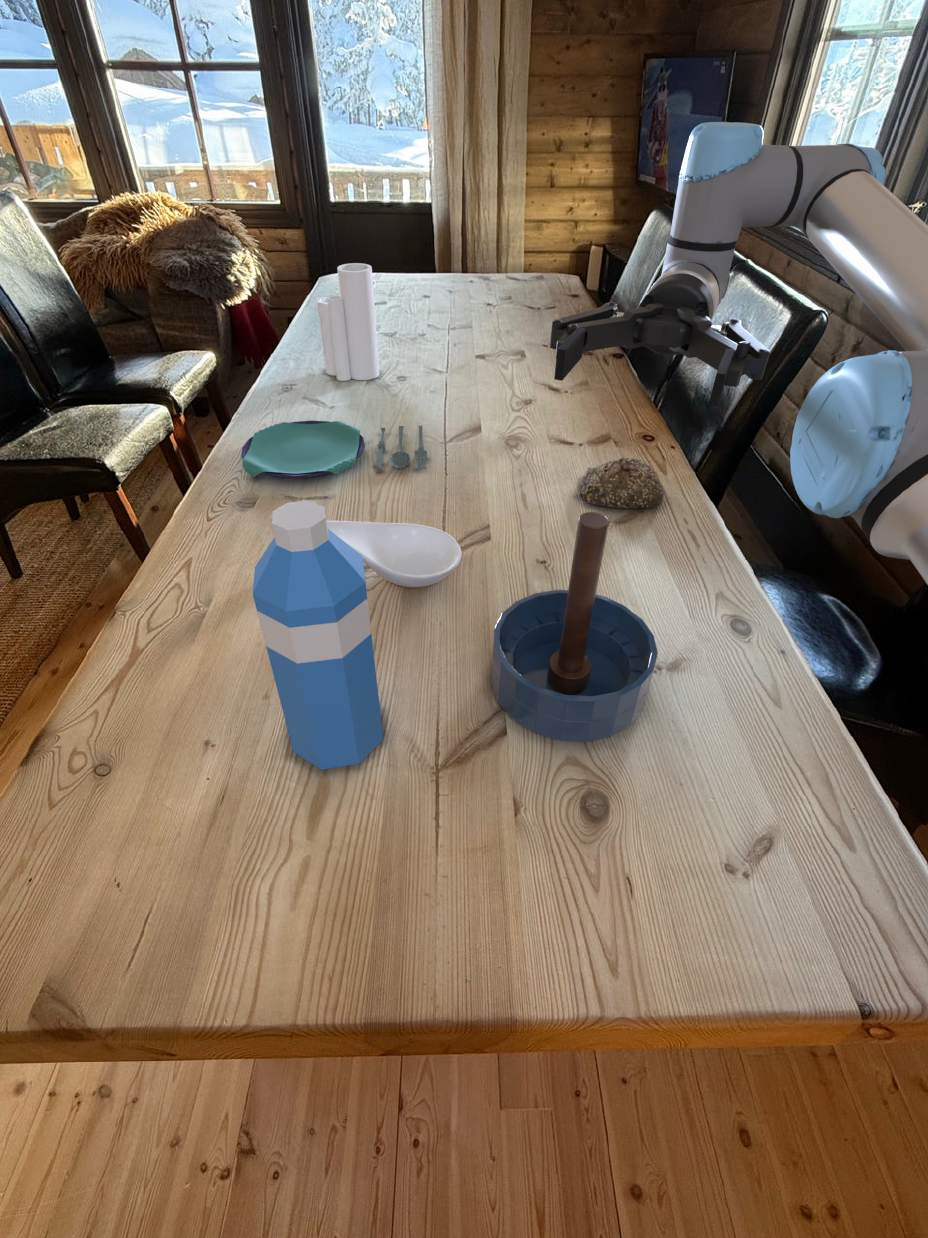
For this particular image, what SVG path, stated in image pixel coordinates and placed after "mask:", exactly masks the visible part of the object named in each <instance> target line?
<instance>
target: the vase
mask: <svg viewBox="0 0 928 1238" xmlns="http://www.w3.org/2000/svg"><path fill="white" fill-rule="evenodd" d="M336 268H337V278H338V289H339V295H334V294H333V295H329V296H327V297H320V298H317V300H316V303H317V304H316V305H317V311H318V319H319V320H318V321H319V327H320V334H321V335H320V336H321V343H322V351H323V359H324V367H325V373H326V374H327V375H329V376H333V377H334V376H335V377H336V380H337V381H340V382H347V381H350V380H351V379H352V380H356V381H369V380H370V381H371V380H375V379H376V378H378V377H379V376H380V361H379V346H378V335H377V334H378V333H377V321H376V305H375V294H374V280H373V267H372V265H370V264H367V263H361V262H359V263H358V262H354V263H353V262H351V263H344V264H341V265H338V266H337V267H336Z"/></svg>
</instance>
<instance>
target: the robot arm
mask: <svg viewBox="0 0 928 1238" xmlns="http://www.w3.org/2000/svg"><path fill="white" fill-rule="evenodd" d="M764 134H765V133H764V129H763V126H761V125H760V124H756V123H750V122H735V121H734V122H729V121H708V122H702V123H699V124H698V125H696V126H695V127H694V128H693V129H692V130H691V132H690V134H689V137H688V141H687V143H686V147H685V151H684V155H683V159H682V162H681V166H680V170H679V175H678V183H677V190H676V196H675V202H674V207H673V216H672V222H671V227H670V232H669V234H668V235H669V236H668V241H667V242H666V243H667V244H666V248H665V249H666V250H665V254H664V260H663V265H662V270H661V275H660V276H659V278H657V280H656V281H655V282H654V283H653V284H652V286H651V287H650V288H649V289H648V291H647V292H646V294H645V295H644V296H643V297H642V299H641V301H640V302H639V304H638V306H637V307H636V308H633V309H627V310H625V311H624V312H622V311H619V308H618V304H617V303H616V302H614V301H608V302H605V303H604V304H603V305H600V307H596V308H592V309H589V310H585V311H581V312H578V313H574V314H571V315H568V316H563V317H559V318H556V319H553V320H551V326H550V335H549V336H550V338H549V348H550V349H552V350H555V368H554V376H553V377H554V378H553V380H555V381H560V382H561V381H562V382H563V381H564V380H565V378H566V377H567V376H568V375H569V374H570V372H571V371H572V370H573V369H574V367H575V366H576V365H577V364H578V363H579V362H580V361H581V359H582V358H583V353H587V352H592V351H593V352H594V351H598V350H604V349H610V348H614V347H623V348H625V349H627V350H633V349H636V348H637V349H638V348H643V347H645V348H646V349H647V348H648V349H649V350H651V351H652V352H653V353H656V354H658V355H660V356H661V355H662V356H669V357H670V356H671V357H672V356H678V355H683V356H684V357H685V358H687V359H692V358H693V359H694V358H697V359H698V360H700V361H701V362H703V363H704V364H706V365H708V366H710V367H711V368H712V369H714V370H715V371H716V374H715V378H714V382H713V385H712V389H711V393H710V396H709V399H708V400H709V401H708V404H707V406H710V407H711V406H712V407H718V406H719V403H720V400H721V398H722V394H723V391H724V388H725V386H727V387H734V388H737V387H738V386H739V385H740V382H741V379H742V376H746V377H748V379H750V380H753V381H762V380H763V377H764V374H765V371H766V367H767V364H768V361H769V357H770V355H771V350H769V349H768V348H767V347H766V346H765V345H764V344H763V343H762V342H760V341H759V340H758V338H756V337H754V336H753V335H752V334H751V333H750V332H749V331H748V330H747V329H745V328H744V327H743V326H742V320H741V319H738V318H736V317H731V318H728V320H727V321H724V322H722V324H721V325H717V324H713V322H712V321H713V318H714V316H715V314H716V311H717V309H718V307H719V305H721V303H722V300H723V299H724V298H725V296H726V294H727V291H728V287H729V283H730V280H731V279H730V278H731V274H730V272H731V271H730V270H731V267H732V263H733V259H734V255H735V251H736V247H737V244H738V241H739V236H740V233H741V230H742V228H759V227H760V228H761V227H767V228H773V227H775V228H778V227H779V228H780V227H782V228H783V227H785V228H787V227H793V228H797V229H799V231H800V232H801V233H802V234H803V235H804V236H805V237H806V238H807V239H808V241H809V242H810V243H811V244H812V245H813V246H814V247H815V249H817V251H818V252H819V254H821V255H822V256H823V258H824V259H825V260H826V261H827V262H828V264H829V265H830V266H831V267H832V268H833V269H834V270H835V271H836V272H837V274H838V275H839V276H840V277H841V278H842V279H843V281H845V283H846V284H847V285H848V286H849V287H850V288H851V289H852V291H853V292H854V293H855V294H856V296H858V297H859V299H860V300H861V301H862V302H863V304H865V306H866V307H867V308H868V309H869V310H870V312H872V314H873V315H874V316H875V317H876V318H877V319H878V320H879V322H880V323H881V324H882V325H883V327H885V329H886V330H887V331H888V332H889V333H890V334H891V336H892V337H894V339H895V340H896V341H897V343H899V345H900V346H901V347H902V348H903V349H904V351H898V350H891V349H890V350H889V349H888V350H884V351H880V352H877V353H875V354H868V355H862V356H853V357H851V358H848V359H845V360H844V361H841V362H839V363H837V364H835V365H834V366H832V367H830V368H829V369H828V370H827V371H826V372H825V373H824V374H822V375H821V376H820V377H819V378H818V380H817V381H816V382H815V383H814V384H813V386H812V388H811V389H810V390H809V391H808V393H807V395H806V397H805V399H804V401H803V402H802V404H801V407H800V409H799V411H798V414H797V417H796V420H795V423H794V426H793V431H792V436H791V437H792V439H791V446H790V452H789V454H790V455H789V464H790V474H791V478H792V483H793V486H794V489H795V491H796V494H797V496H798V497H799V499H800V501H801V502H802V504H803V505H804V506H805V507H806V508H807V509H808V510H810V511H811V512H813V513H814V514H817V515H821V516H827V517H828V518H831V519H833V518H834V519H840V518H844V517H849V516H850V517H851V518H853V520H854V521H855V522H856V524H857V525H858V527H859V528H860V530H861V531H862V533H863V534H864V535H865V537H866V539H867V540H868V541H869V544H870V545H871V546H872V548H873V549H874V551H875V552H877V553H878V554H879V555H881V556H883V557H886V558H893V559H900V560H909V561H910V562H911V563H912V565H913V566H914V567H915V569H916V570H917V572H918V573H919V575H920V576H921V578H922V579H923V580H924V581H925V584H926V585H927V586H928V224H927V223H926V222H925V221H924V220H922V219H921V218H920V217H919V216H918V215H917V214H916V213H915V212H914V211H913V210H911V209H910V208H909V207H908V206H907V205H906V204H905V203H904V202H902V200H900V199H899V198H898V197H897V196H896V195H894V193H893V192H891V190H889V188H887V187H886V186H885V185H884V184H885V179H886V168H885V167H884V166H883V161H884V158H883V156H882V154H881V153H880V152H879V150H878V149H876V148H874V147H872V146H869V145H857V144H855V143H851V142H847V143H841V142H840V143H838V144H815V145H814V144H812V145H811V144H809V145H807V144H806V145H785V144H784V145H782V144H764V143H763V140H764Z"/></svg>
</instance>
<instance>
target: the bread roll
mask: <svg viewBox="0 0 928 1238" xmlns="http://www.w3.org/2000/svg"><path fill="white" fill-rule="evenodd" d="M581 486H582V489H581V490H580V491H581V492H580V494H579V496H580V497H581V498H582V500H583V501H584V502H585V503H587V504H591V505H595V506H598V507H603V508H604V507H605V508H613V509H626V510H627V509H628V510H629V509H654V508H658V507H660V506H662V504H663V501H664V495H665V491H664V488H663V484H662V482H661V479H659V477H658V475H657V474H656V472H655V471H654V470H653V469H652V468H651V466H650V465H649V464H647V463H645V462H644V461H642V460H641V459H638V458H634V457H623V456H621V457H619V458H617V459H613V460H609V461H607V462H604V463H602V464H600V465H598V466H595V467H588V468H587V470H586V471H585V473H584V475H583V477H582V480H581Z"/></svg>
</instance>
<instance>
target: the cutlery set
mask: <svg viewBox="0 0 928 1238" xmlns="http://www.w3.org/2000/svg"><path fill="white" fill-rule="evenodd" d="M423 427H424V425H418V447H417V450H415V451H414V458H415V466H416V470H419V468H420V470H422V469H423V468H424V470H426V468H427V460H428V450H425V449H424V448H425V447H424V440H423V438H424V437H423V434H424V433H423V429H424V428H423ZM404 428H405V427H404V425H398V451H395V452H394V453H392V454H391V456H390V458H389V461H390V464H391V465H392V466H393V467H394V468H396V469H403V468H405V467H407V466H408V465H409V463H410V462H411V457H410V454H409V453H407V452H406V451H404V450H403V439H404V430H405V429H404ZM380 430H381V436H380V440H379V441H378V444H377V450H378V451H377V454H376V468H377V469H378V470H379V471H382V467H383V456H384V451H386V442H385V432H386V427H380ZM365 448H366V444H365V439H364V436H362V434H361V429H358V428H357V427H355V426H352V425H350V424H348V423H345V422H343V421H338V420H334V421H327V420H300V421H291V422H287V421H284V422H283V421H282V422H279V423H274V424H273V425H269V426H268V427H264V428H263V429H259V430H258V431H255V432H254V433H253V436H251V437H249V438H248V439H247V441H246V442H245V443H244V444H243V445H242V447H241V455H240V457H241V459H242V468H243V470H244V471H245V472H246V473H247V474H248V475H249V476H251V477H253V478H254V479H256V476H257V475H259V474H263V475H267V476H270V477H275V478H286V479H304V478H313V477H320V476H322V475H323V476H324V475H327V474H331V473H333V474H334V475H336V476H337V475H338V474H341V473H342V472H344V471H347V470H349V469H352V468H353V467H354V466H355V465H356V462H357V460H358V459H359V458H360V457H362V454H363V452H364V450H365Z"/></svg>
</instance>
